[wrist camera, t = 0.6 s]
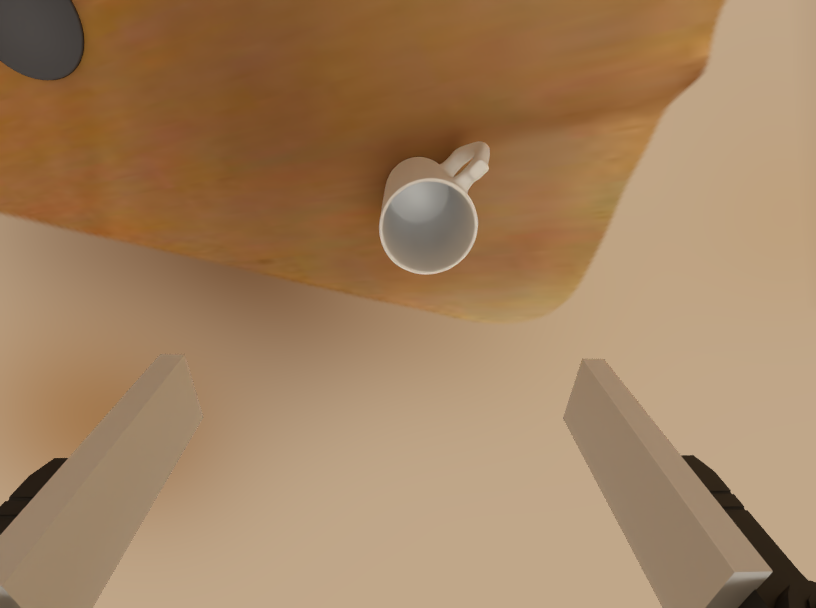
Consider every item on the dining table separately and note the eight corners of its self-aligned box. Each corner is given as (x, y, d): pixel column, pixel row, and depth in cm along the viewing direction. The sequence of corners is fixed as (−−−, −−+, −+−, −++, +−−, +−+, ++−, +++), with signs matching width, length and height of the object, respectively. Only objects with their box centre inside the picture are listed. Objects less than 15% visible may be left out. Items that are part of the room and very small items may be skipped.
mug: (418, 239, 39) (428, 292, 28) (367, 193, 37) (358, 232, 26) (493, 162, 36) (536, 190, 25) (443, 106, 33) (467, 112, 23)
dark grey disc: (-57, -55, 27) (-61, -56, 27) (62, -44, 28) (59, -46, 28) (-6, 76, 31) (-10, 76, 31) (97, 83, 32) (95, 83, 31)
